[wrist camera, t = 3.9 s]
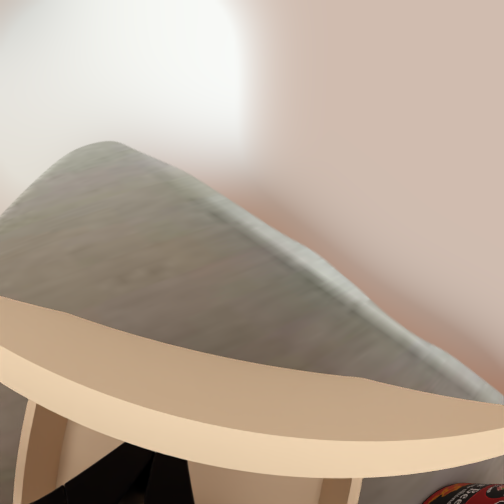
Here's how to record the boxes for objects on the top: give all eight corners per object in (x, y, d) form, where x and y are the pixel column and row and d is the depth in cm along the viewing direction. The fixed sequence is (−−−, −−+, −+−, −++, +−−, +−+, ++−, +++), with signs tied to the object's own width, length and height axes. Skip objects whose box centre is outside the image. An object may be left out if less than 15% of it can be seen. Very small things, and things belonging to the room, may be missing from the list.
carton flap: (560, 433, 3) (565, 410, 3) (-126, 269, 3) (-122, 251, 3) (360, 387, 14) (361, 377, 14) (64, 321, 14) (66, 312, 14)
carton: (299, 591, 10) (319, 623, 6) (47, 530, 11) (12, 546, 6) (341, 398, 19) (374, 389, 14) (84, 341, 19) (52, 318, 15)
